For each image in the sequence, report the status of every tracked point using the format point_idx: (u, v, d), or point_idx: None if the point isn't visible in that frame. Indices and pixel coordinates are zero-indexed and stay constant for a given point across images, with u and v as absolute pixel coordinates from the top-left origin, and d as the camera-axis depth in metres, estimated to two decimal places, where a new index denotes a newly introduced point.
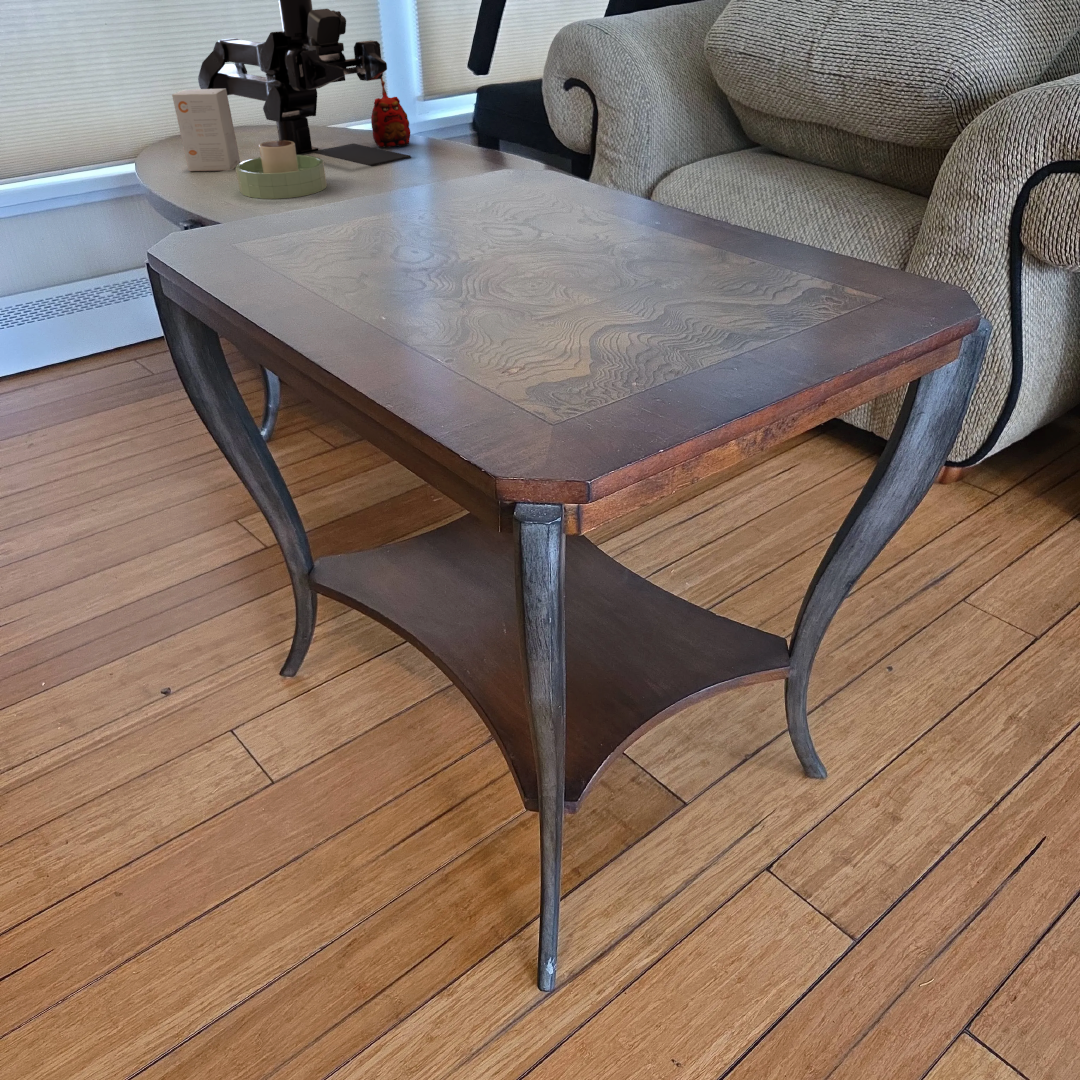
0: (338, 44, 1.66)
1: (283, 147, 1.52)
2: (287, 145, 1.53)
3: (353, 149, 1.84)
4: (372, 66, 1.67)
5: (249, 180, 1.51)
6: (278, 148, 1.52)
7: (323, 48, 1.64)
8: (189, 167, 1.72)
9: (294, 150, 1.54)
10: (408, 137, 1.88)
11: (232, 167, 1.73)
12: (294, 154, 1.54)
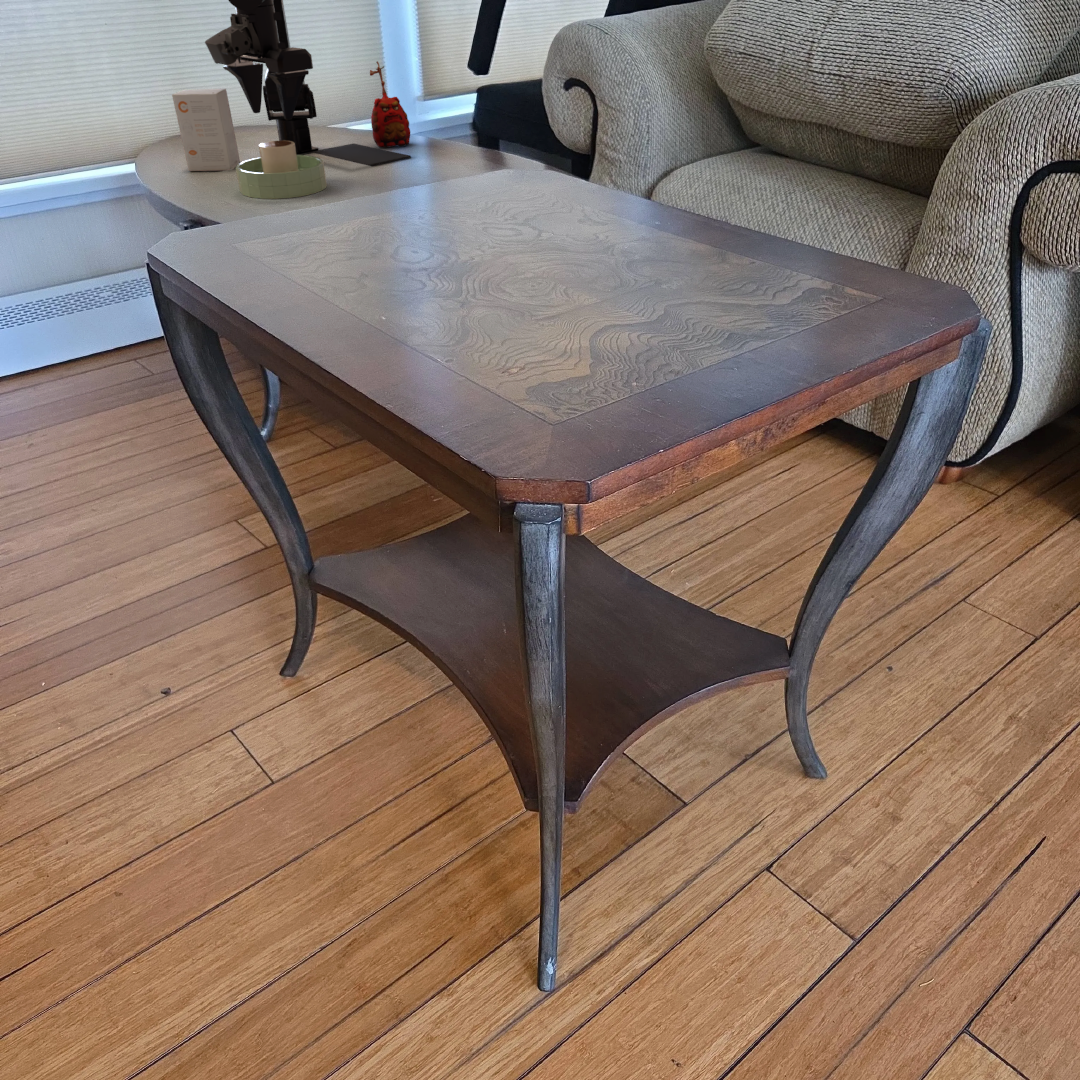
0: None
1: (283, 147, 1.52)
2: (287, 145, 1.53)
3: (353, 149, 1.84)
4: None
5: (249, 180, 1.51)
6: (278, 148, 1.52)
7: None
8: (189, 167, 1.72)
9: (294, 150, 1.54)
10: (408, 137, 1.88)
11: (232, 167, 1.73)
12: (294, 154, 1.54)
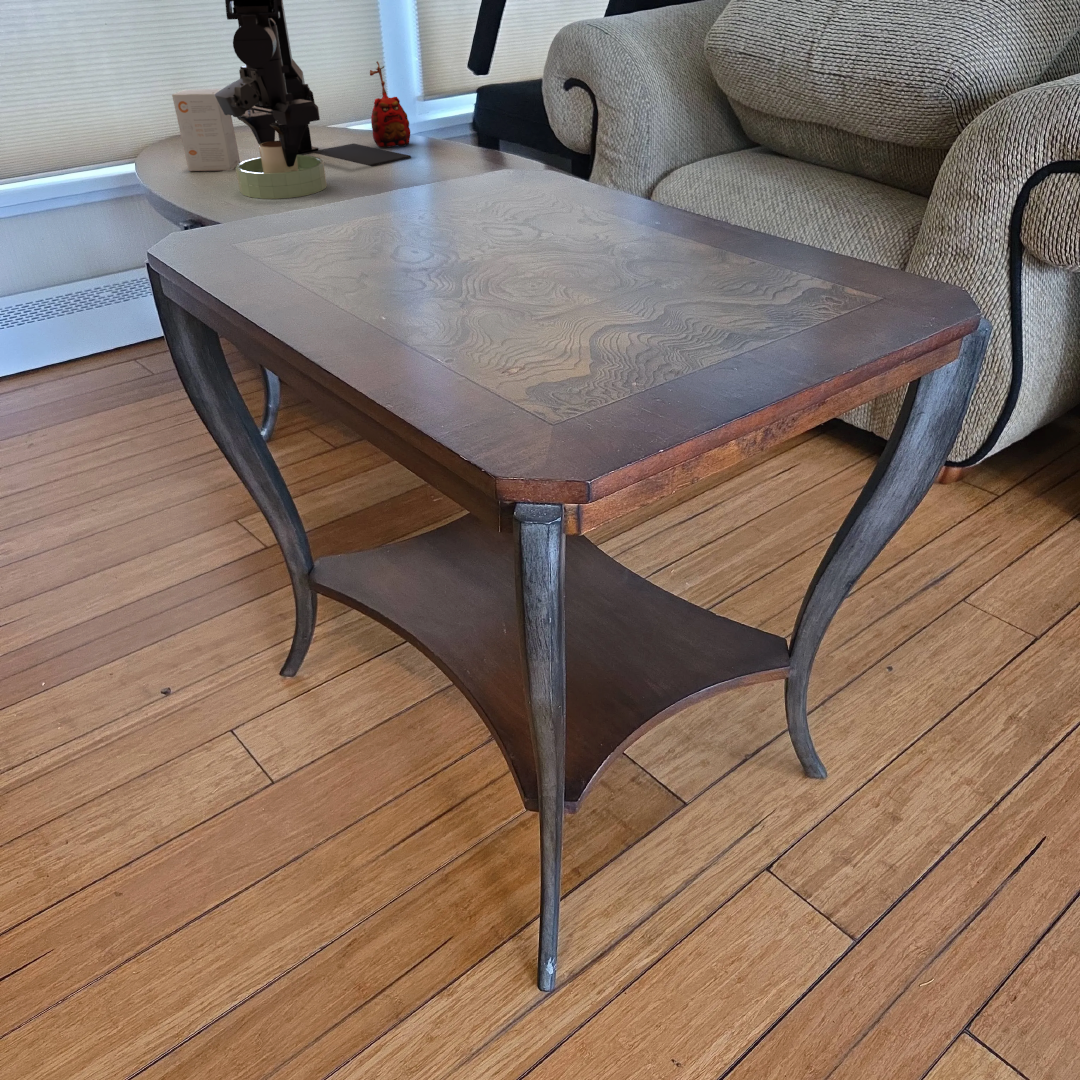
0: (260, 104, 1.47)
1: None
2: None
3: (353, 149, 1.84)
4: None
5: (249, 180, 1.51)
6: (278, 148, 1.52)
7: None
8: (189, 167, 1.72)
9: None
10: (408, 137, 1.88)
11: (232, 167, 1.73)
12: None
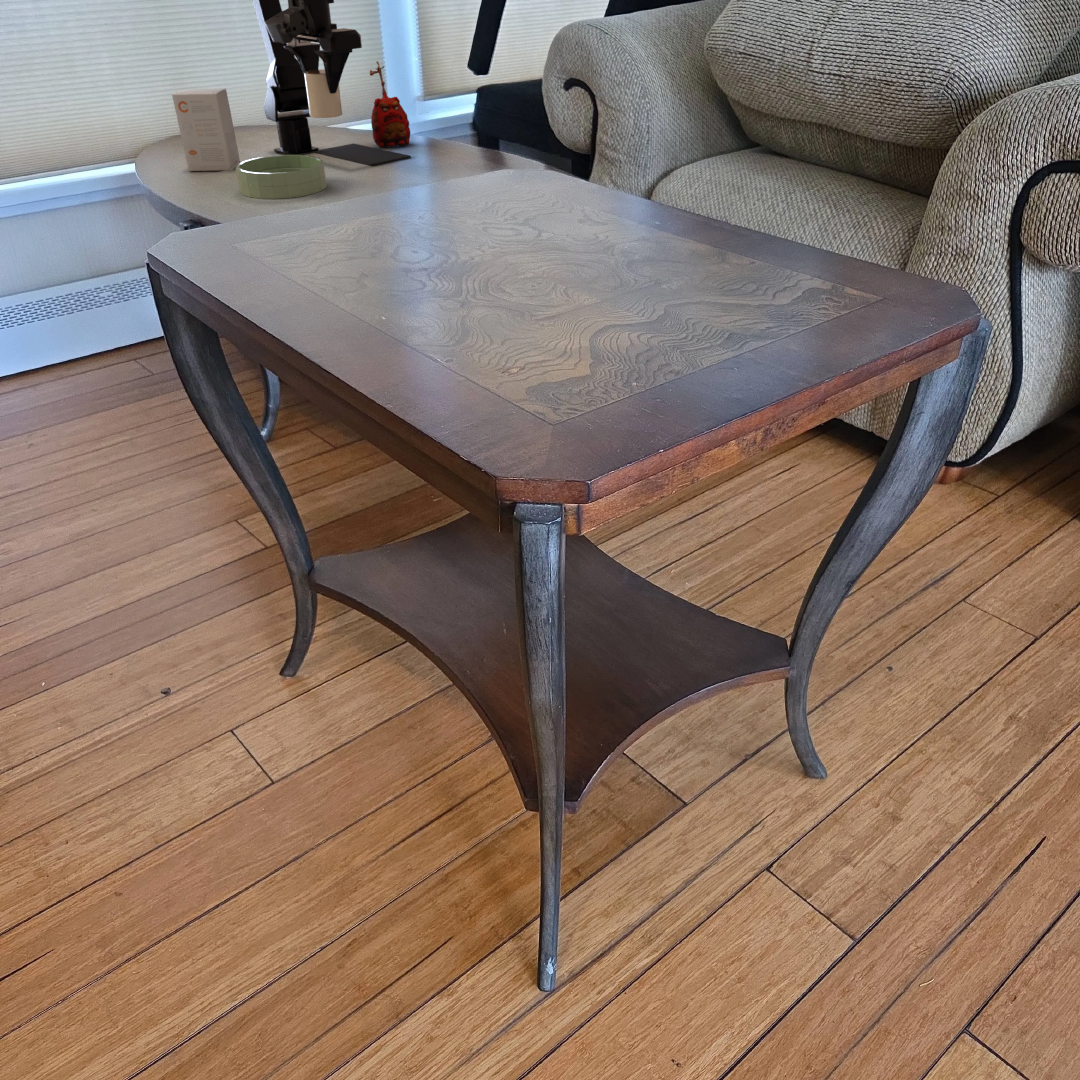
0: (306, 32, 1.58)
1: None
2: None
3: (353, 149, 1.84)
4: None
5: (249, 180, 1.51)
6: (322, 75, 1.62)
7: None
8: (189, 167, 1.72)
9: None
10: (408, 137, 1.88)
11: (232, 167, 1.73)
12: None
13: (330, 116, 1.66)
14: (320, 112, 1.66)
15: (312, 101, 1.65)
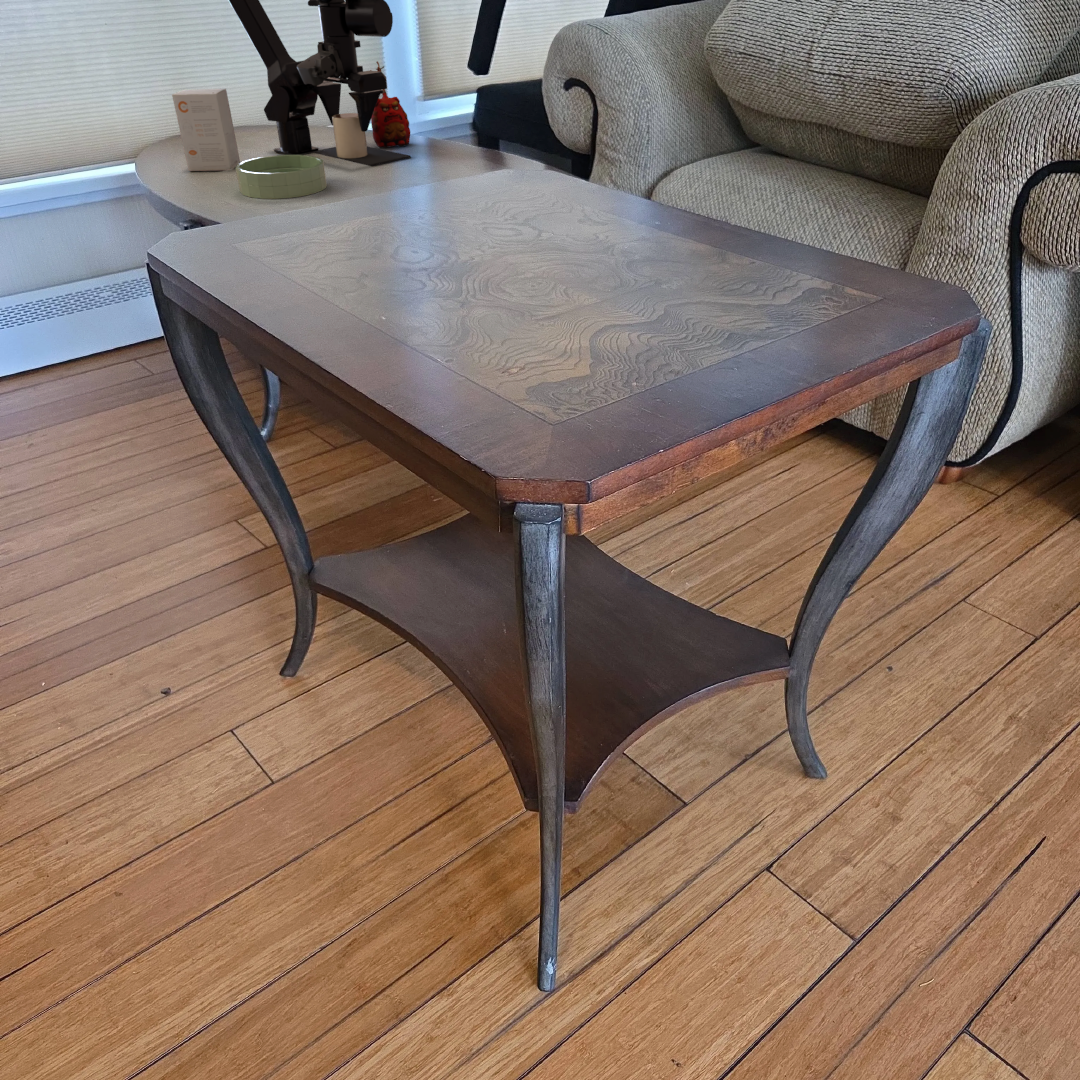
0: (335, 74, 1.69)
1: (354, 118, 1.74)
2: (357, 116, 1.75)
3: None
4: None
5: (249, 180, 1.51)
6: (350, 119, 1.74)
7: None
8: (189, 167, 1.72)
9: None
10: (408, 137, 1.88)
11: (232, 167, 1.73)
12: None
13: (357, 156, 1.78)
14: (348, 153, 1.77)
15: (339, 143, 1.76)
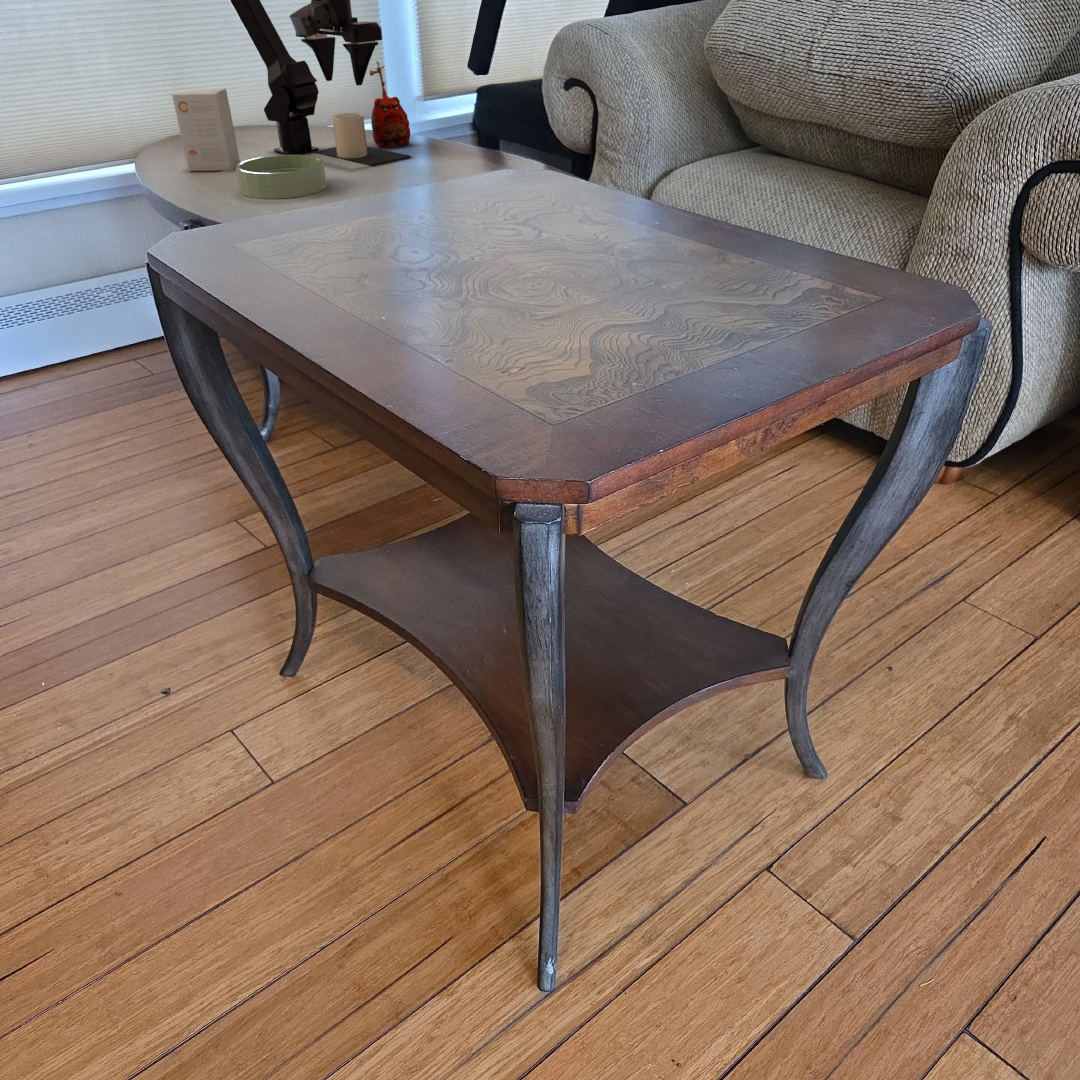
0: (329, 25, 1.65)
1: (354, 118, 1.74)
2: (357, 116, 1.75)
3: None
4: None
5: (249, 180, 1.51)
6: (350, 119, 1.74)
7: None
8: (189, 167, 1.72)
9: (363, 121, 1.76)
10: (408, 137, 1.88)
11: (232, 167, 1.73)
12: (363, 125, 1.76)
13: (357, 156, 1.78)
14: (348, 153, 1.77)
15: (339, 143, 1.76)
